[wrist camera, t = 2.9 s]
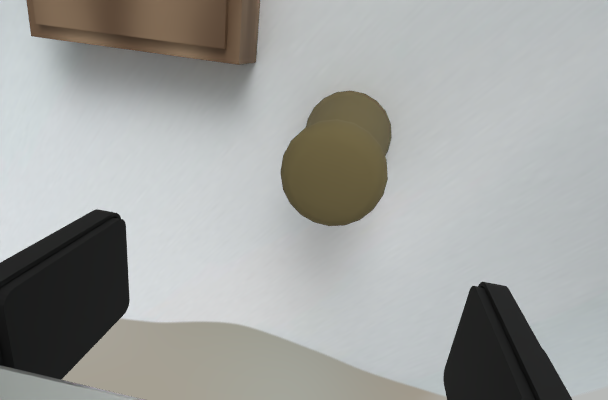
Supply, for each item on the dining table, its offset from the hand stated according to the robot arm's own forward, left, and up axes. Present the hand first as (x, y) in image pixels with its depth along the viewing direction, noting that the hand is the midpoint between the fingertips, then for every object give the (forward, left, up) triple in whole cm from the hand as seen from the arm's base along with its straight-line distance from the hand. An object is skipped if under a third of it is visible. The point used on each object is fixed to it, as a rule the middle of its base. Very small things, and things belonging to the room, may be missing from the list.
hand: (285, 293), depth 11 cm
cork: (0, 0, -19) cm, 19 cm away
